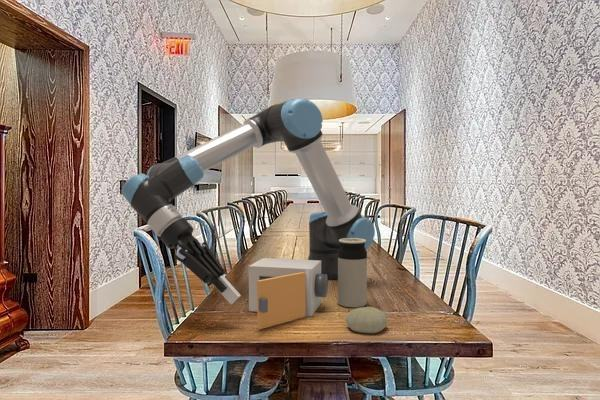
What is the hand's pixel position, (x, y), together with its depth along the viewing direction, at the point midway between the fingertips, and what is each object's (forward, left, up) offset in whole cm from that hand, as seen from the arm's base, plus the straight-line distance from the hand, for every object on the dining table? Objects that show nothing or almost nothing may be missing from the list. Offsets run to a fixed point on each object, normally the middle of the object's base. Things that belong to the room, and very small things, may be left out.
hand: (235, 299), depth 103 cm
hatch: (-11, +2, -6) cm, 13 cm away
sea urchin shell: (-29, +11, -7) cm, 31 cm away
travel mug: (-34, -8, -7) cm, 35 cm away
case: (-16, -10, -6) cm, 20 cm away
